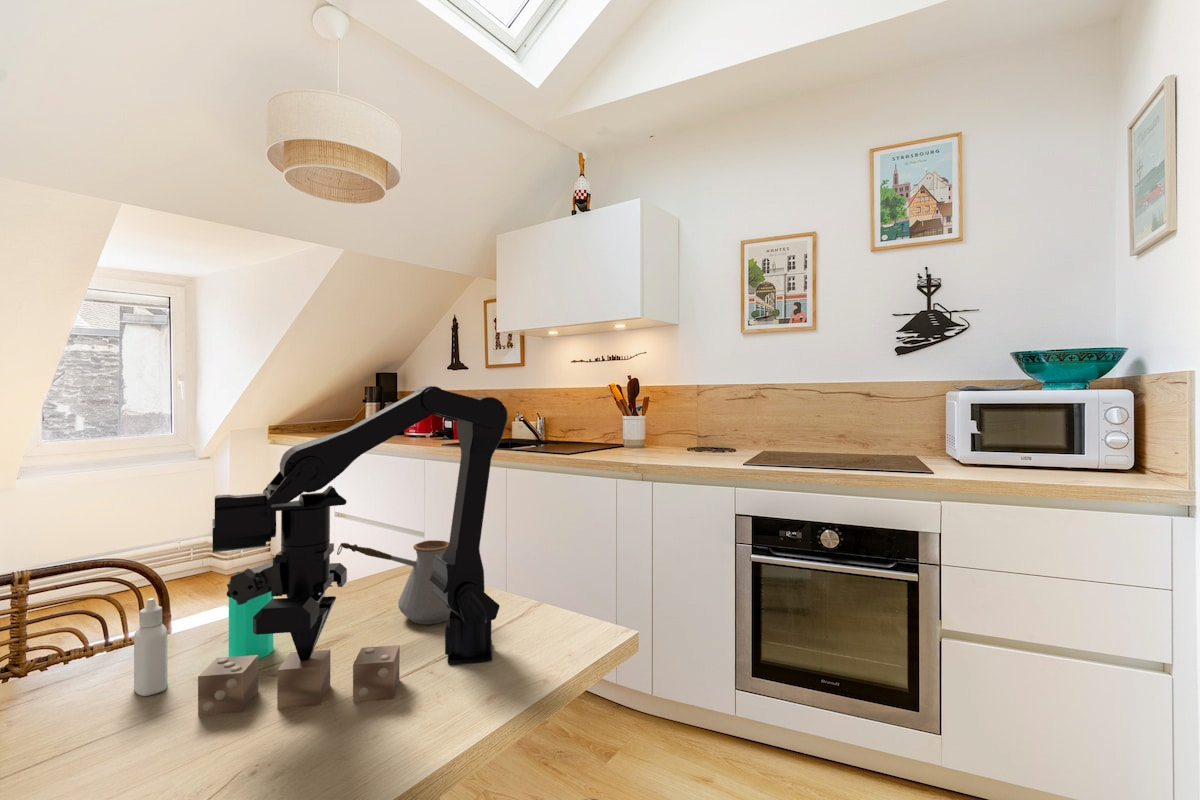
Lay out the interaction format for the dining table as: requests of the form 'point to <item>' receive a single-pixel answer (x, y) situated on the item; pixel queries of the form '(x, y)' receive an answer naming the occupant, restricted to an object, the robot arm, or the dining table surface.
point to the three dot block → (227, 685)
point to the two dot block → (376, 673)
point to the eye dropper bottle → (150, 651)
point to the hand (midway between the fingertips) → (305, 659)
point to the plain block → (303, 680)
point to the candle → (248, 628)
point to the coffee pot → (416, 582)
